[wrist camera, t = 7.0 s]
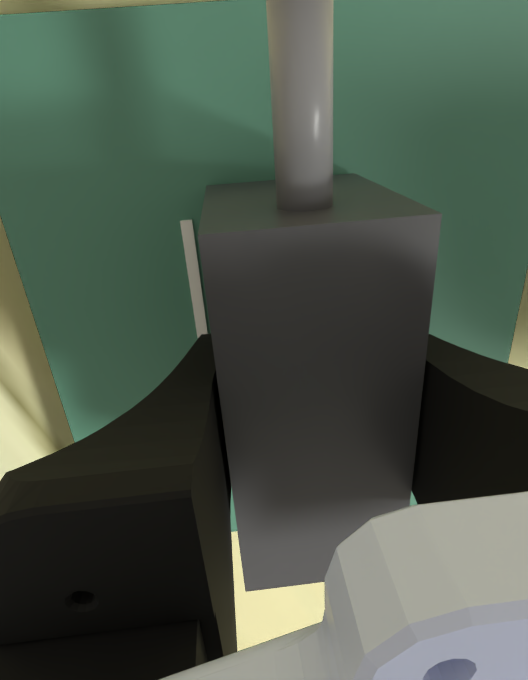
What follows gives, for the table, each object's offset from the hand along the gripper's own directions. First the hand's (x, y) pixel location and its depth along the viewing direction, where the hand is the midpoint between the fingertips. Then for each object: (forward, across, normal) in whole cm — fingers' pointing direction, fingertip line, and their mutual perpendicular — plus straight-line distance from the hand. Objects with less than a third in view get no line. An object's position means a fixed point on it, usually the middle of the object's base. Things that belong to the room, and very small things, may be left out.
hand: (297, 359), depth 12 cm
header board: (+3, 0, 0) cm, 3 cm away
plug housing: (+2, 0, -2) cm, 2 cm away
